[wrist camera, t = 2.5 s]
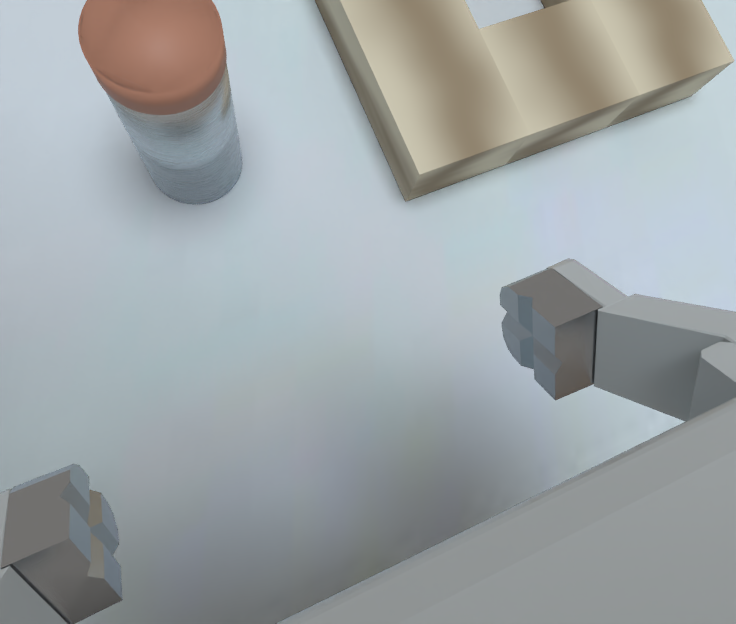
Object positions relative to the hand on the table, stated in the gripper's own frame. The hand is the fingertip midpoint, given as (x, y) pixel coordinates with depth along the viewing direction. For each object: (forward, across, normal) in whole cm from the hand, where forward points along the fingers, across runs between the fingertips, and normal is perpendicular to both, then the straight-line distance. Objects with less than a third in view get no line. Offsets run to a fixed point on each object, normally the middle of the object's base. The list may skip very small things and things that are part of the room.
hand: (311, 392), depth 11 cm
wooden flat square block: (+21, -16, 0) cm, 26 cm away
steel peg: (+19, 0, +2) cm, 19 cm away
